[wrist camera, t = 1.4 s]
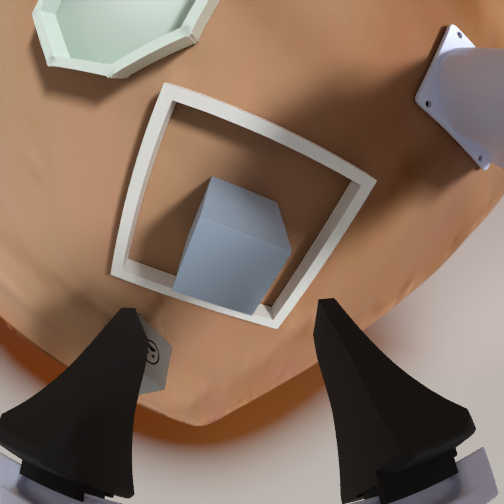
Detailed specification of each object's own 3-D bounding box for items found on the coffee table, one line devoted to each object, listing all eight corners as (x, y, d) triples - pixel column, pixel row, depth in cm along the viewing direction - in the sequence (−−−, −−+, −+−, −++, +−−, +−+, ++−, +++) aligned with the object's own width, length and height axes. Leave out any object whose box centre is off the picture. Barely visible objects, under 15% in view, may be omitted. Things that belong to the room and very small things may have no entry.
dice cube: (138, 312, 23) (124, 357, 19) (172, 346, 26) (164, 389, 21) (103, 327, 24) (87, 367, 20) (136, 357, 27) (126, 396, 22)
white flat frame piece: (367, 173, 17) (377, 180, 16) (275, 315, 24) (277, 328, 22) (170, 83, 14) (164, 82, 12) (117, 262, 20) (110, 274, 19)
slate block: (277, 202, 18) (292, 251, 13) (248, 255, 20) (251, 315, 15) (212, 175, 17) (200, 216, 12) (188, 234, 19) (172, 290, 14)
